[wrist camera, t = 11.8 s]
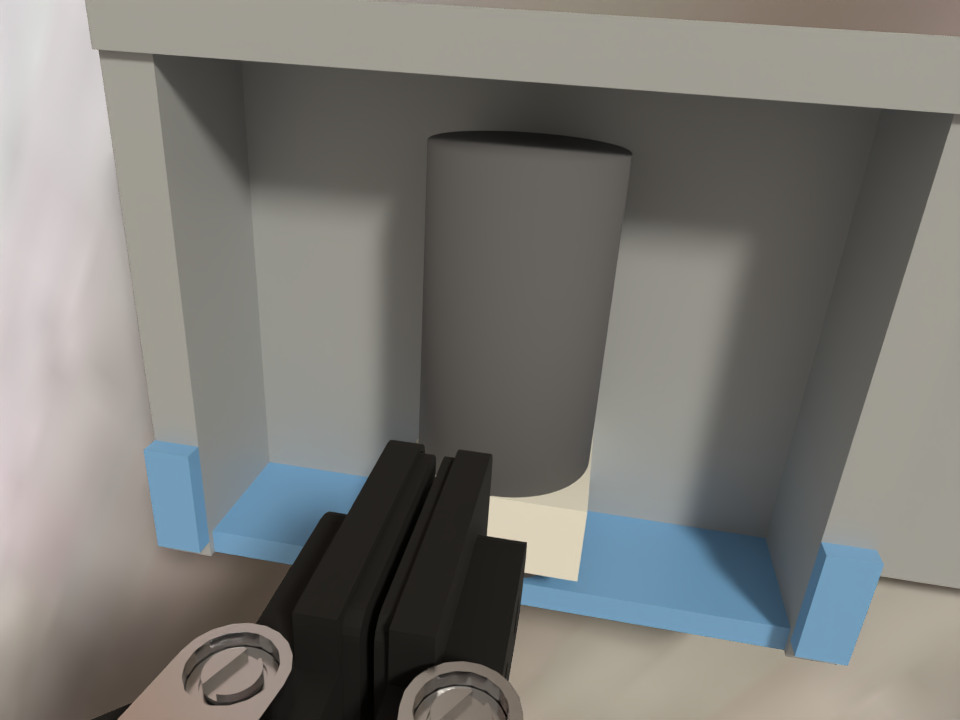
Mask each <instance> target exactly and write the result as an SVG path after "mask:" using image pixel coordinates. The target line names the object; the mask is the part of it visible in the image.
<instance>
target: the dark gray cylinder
mask: <svg viewBox="0 0 960 720" xmlns="http://www.w3.org/2000/svg"><path fill="white" fill-rule="evenodd" d="M631 161H632V152H631V151H630V150H628V149H626V148H624V147H621V146H618V145H614V144H610V143H606V142H602V141H597V140H591V139H585V138H579V137H572V136H564V135H555V134H545V133H532V132H517V131H457V132H447V133H440V134H436V135H433V136H430V137H429V138H428V140H427V173H426V207H425V241H424V275H423V309H422V343H421V377H420V410H419V437H418V439H417V441H416V443H418V444H424V446H425V453H426V454H433V455H435V456H436V475H437V472H438V470H439V467H440V465H441V462H442V460H443V458H444V457H445V456H447V457H454V458H455V456H456V454H457V451H458V450H459V449H461V450H468V451H475V452H482V453H489V454H492V456H493V462H492V476H491V489H490V502H489V515H488V528H487V536H490V537H497V538H503V539H509V540H516V541H522V542H527V552H526V562H525V571H524V578H528V577H532V576H536V575H541V576H547V577H553V578H559V579H565V580H571V581H577V580H578V573H579V566H580V560H581V553H582V546H583V539H584V532H585V525H586V518H587V510H588V497H589V484H590V471H591V458H592V445H593V432H594V424H595V416H596V409H597V402H598V395H599V388H600V381H601V374H602V367H603V360H604V353H605V345H606V338H607V331H608V324H609V317H610V310H611V303H612V296H613V289H614V282H615V274H616V267H617V260H618V253H619V246H620V239H621V232H622V225H623V218H624V211H625V203H626V196H627V189H628V182H629V175H630V168H631ZM436 475H435V477H436Z"/></svg>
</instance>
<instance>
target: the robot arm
mask: <svg viewBox="0 0 960 720" xmlns="http://www.w3.org/2000/svg"><path fill="white" fill-rule="evenodd" d="M492 462H493V456H492V454H489V453H482V452H475V451H468V450H461V449H459V450H458V451H457V454H456V456H455V458H454V457H447V456H445V457H444V458H443V460H442V462H441V465H440V467H439V470H438V472H437V475H436V456H435V455H433V454H426V453H425V446H424V444H418V443H411V442H404V441H397V440H389V442H388V443H387V445H386V446H385V448H384V450H383V452H382V454H381V455H380V457H379V459H378V461H377V462H376V464H375V466H374V468H373V470H372V471H371V473H370V475H369V477H368V478H367V480H366V482H365V484H364V486H363V487H362V489H361V491H360V493H359V494H358V496H357V498H356V500H355V501H354V503H353V505H352V507H351V509H350V510H349V512H348V514H343V513H336V512H330V511H329V512H327V513H325V514H324V515H323V516H322V518H321V519H320V520H319V522H318V524H317V525H316V527H315V529H314V530H313V532H312V534H311V535H310V537H309V538H308V540H307V542H306V543H305V545H304V547H303V548H302V550H301V551H300V553H299V555H298V556H297V558H296V560H295V561H294V563H293V564H292V566H291V568H290V569H289V571H288V573H287V574H286V576H285V578H284V579H283V581H282V582H281V584H280V586H279V587H278V589H277V591H276V592H275V594H274V595H273V597H272V599H271V600H270V602H269V604H268V605H267V607H266V609H265V610H264V612H263V613H262V615H261V617H260V618H259V620H258V622H257V623H256V624H252V623H241V624H230V625H226V626H223V627H219V628H215V629H212V630H210V631H209V632H207V633H205V634H203V635H201V636H199V637H197V638H195V639H194V640H193V641H192V642H191V643H189V644H188V645H187V646H186V647H185V648H184V649H182V650H181V651H180V652H179V654H178V655H177V656H176V657H175V658H174V659H173V660H172V661H171V662H170V663H169V664H168V665H167V666H166V668H165V669H164V670H163V671H162V672H161V673H160V674H159V675H158V676H157V677H156V678H155V679H154V681H153V682H152V683H151V684H150V685H149V686H148V687H147V688H146V689H145V690H144V691H143V692H142V693H141V695H140V696H139V697H138V698H137V699H136V700H135V701H134V702H133V703H130V704H128V705H126V706H123V707H121V708H119V709H116V710H114V711H111V712H109V713H107V714H104V715H102V716H99V717H97V718H95V719H92V720H523V711H522V707H521V702H520V698H519V696H518V694H517V693H516V691H515V690H514V688H513V686H512V685H511V683H510V682H508V680H509V674H510V668H511V662H512V656H513V650H514V645H515V639H516V632H517V626H518V619H519V612H520V605H521V597H522V589H523V580H524V571H525V562H526V552H527V542H522V541H516V540H509V539H503V538H497V537H490V536H487V528H488V515H489V502H490V489H491V476H492ZM435 475H436V477H435Z"/></svg>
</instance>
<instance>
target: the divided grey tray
mask: <svg viewBox="0 0 960 720" xmlns="http://www.w3.org/2000/svg"><path fill="white" fill-rule="evenodd" d="M85 4H86V11H87V17H88V24H89V31H90V38H91V44H92V49H97V50H99V56H100V63H101V69H102V76H103V83H104V90H105V97H106V104H107V111H108V118H109V125H110V132H111V139H112V146H113V153H114V159H115V166H116V173H117V180H118V187H119V194H120V201H121V208H122V215H123V222H124V229H125V236H126V243H127V249H128V256H129V263H130V270H131V277H132V284H133V291H134V298H135V305H136V312H137V319H138V326H139V333H140V340H141V346H142V353H143V360H144V367H145V374H146V381H147V388H148V395H149V402H150V409H151V416H152V423H153V430H154V436H155V441H154V442H152V443H151V444H150V445H149V446H148V447H147V448H145V449H144V456H145V462H146V469H147V475H148V482H149V488H150V495H151V501H152V508H153V515H154V521H155V528H156V534H157V541H158V546H162V547H167V548H171V549H173V550H179V551H185V552H190V553H196V554H202V555H208V556H212V554H213V553H214V552H220V553H226V554H232V555H238V556H244V557H249V558H255V559H261V560H267V561H273V562H278V563H284V564H290V565H292V564H293V563H294V561H295V560H296V558H297V556H298V555H299V553H300V551H301V550H302V548H303V547H304V545H305V543H306V542H307V540H308V538H309V537H310V535H311V534H312V532H313V530H314V529H315V527H316V525H317V524H318V522H319V520H320V519H321V518H322V516H323V515H324V514H325V513H327V512H329V511H330V512H336V513H343V514H348V512H349V510H350V509H351V507H352V505H353V503H354V501H355V500H356V498H357V496H358V494H359V493H360V491H361V489H362V487H363V486H364V484H365V482H366V480H367V478H368V477H369V475H370V473H371V471H372V470H373V468H374V466H375V464H376V462H377V461H378V459H379V457H380V455H381V454H382V452H383V450H384V448H385V446H386V445H387V443H388V442H389V440H397V441H404V442H411V443H416V441H417V439H418V437H419V410H420V377H421V343H422V309H423V275H424V241H425V207H426V173H427V140H428V138H429V137H430V136H433V135H436V134H440V133H447V132H457V131H517V132H532V133H545V134H555V135H564V136H572V137H579V138H585V139H591V140H597V141H602V142H606V143H610V144H614V145H618V146H621V147H624V148H626V149H628V150H630V151H631V152H632V161H631V168H630V175H629V182H628V189H627V196H626V203H625V211H624V218H623V225H622V232H621V239H620V246H619V253H618V260H617V267H616V274H615V282H614V289H613V296H612V303H611V310H610V317H609V324H608V331H607V338H606V345H605V353H604V360H603V367H602V374H601V381H600V388H599V395H598V402H597V409H596V416H595V424H594V432H593V445H592V458H591V471H590V484H589V497H588V510H587V518H586V525H585V532H584V539H583V546H582V553H581V560H580V566H579V573H578V580H577V581H571V580H565V579H559V578H553V577H547V576H541V575H536V576H532V577H528V578H524V580H523V589H522V597H521V605H527V606H533V607H539V608H544V609H550V610H556V611H562V612H568V613H573V614H579V615H585V616H591V617H597V618H602V619H608V620H614V621H620V622H625V623H631V624H637V625H643V626H649V627H654V628H660V629H666V630H672V631H678V632H683V633H689V634H695V635H701V636H706V637H712V638H718V639H724V640H730V641H735V642H741V643H747V644H753V645H759V646H764V647H770V648H776V649H782V650H784V651H785V655H786V656H788V657H794V658H800V659H806V660H811V661H817V662H823V663H829V664H834V665H837V664H841V665H847V666H848V663H849V661H850V658H851V655H852V652H853V650H854V647H855V644H856V641H857V639H858V636H859V633H860V630H861V627H862V625H863V622H864V619H865V616H866V614H867V611H868V608H869V605H870V603H871V600H872V597H873V594H874V591H875V589H876V586H877V583H878V580H879V578H880V576H882V577H889V578H895V579H901V580H908V581H914V582H920V583H927V584H933V585H940V586H946V587H952V588H959V589H960V37H955V36H939V35H923V34H907V33H890V32H874V31H858V30H842V29H826V28H809V27H793V26H777V25H761V24H744V23H728V22H712V21H696V20H679V19H663V18H647V17H631V16H614V15H598V14H582V13H566V12H549V11H533V10H517V9H501V8H485V7H468V6H452V5H436V4H420V3H403V2H387V1H371V0H85Z"/></svg>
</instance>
